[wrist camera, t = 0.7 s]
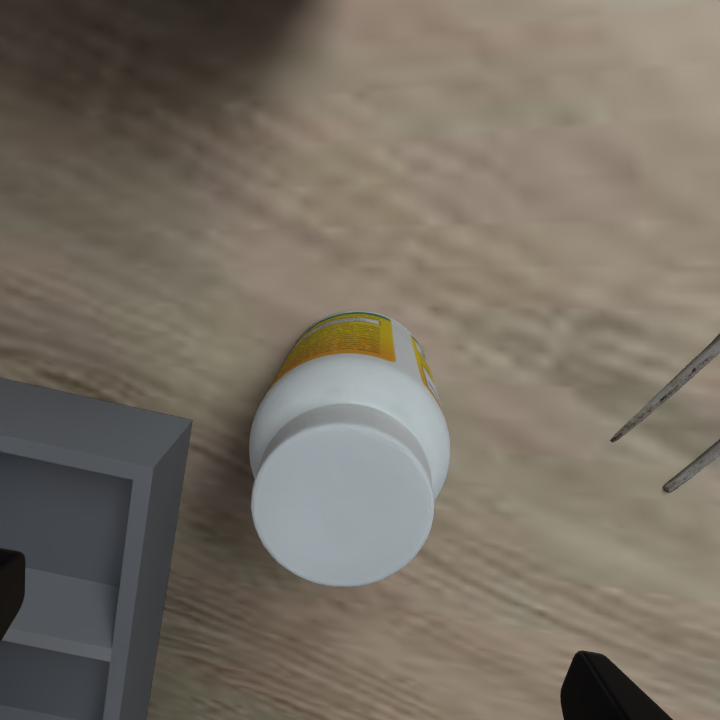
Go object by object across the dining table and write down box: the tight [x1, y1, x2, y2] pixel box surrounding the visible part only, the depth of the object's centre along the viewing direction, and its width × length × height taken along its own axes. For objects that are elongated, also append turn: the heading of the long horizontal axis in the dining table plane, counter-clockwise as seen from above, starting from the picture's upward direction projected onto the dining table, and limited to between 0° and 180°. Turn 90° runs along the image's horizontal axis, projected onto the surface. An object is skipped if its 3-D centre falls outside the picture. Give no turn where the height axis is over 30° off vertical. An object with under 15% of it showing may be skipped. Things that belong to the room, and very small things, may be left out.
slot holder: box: [0, 378, 193, 720], centre depth 23 cm, size 8×23×4 cm, turn 167°
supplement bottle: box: [249, 311, 450, 587], centre depth 16 cm, size 5×5×10 cm
